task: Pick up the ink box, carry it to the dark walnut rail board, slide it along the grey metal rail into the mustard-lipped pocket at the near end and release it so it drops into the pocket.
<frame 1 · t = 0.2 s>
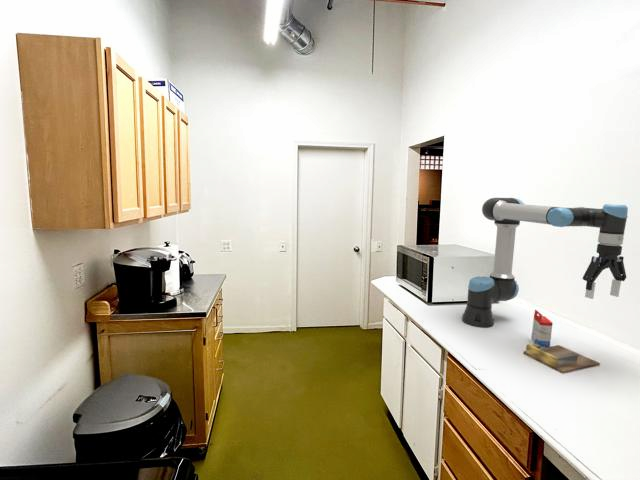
hand: (601, 296, 141), 27 cm above the countertop, fingers open, 13 cm apart
rail board: (560, 359, 146), on the countertop
ink box: (540, 343, 161), on the countertop
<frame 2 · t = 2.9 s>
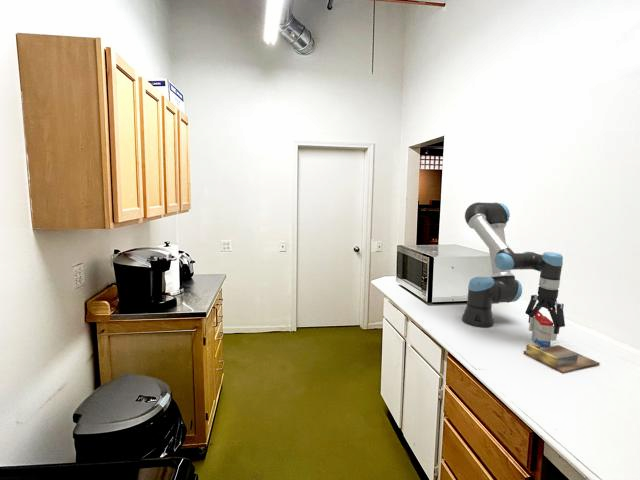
hand: (542, 335, 160), 4 cm above the countertop, fingers open, 10 cm apart
ink box: (540, 343, 161), on the countertop, touching gripper
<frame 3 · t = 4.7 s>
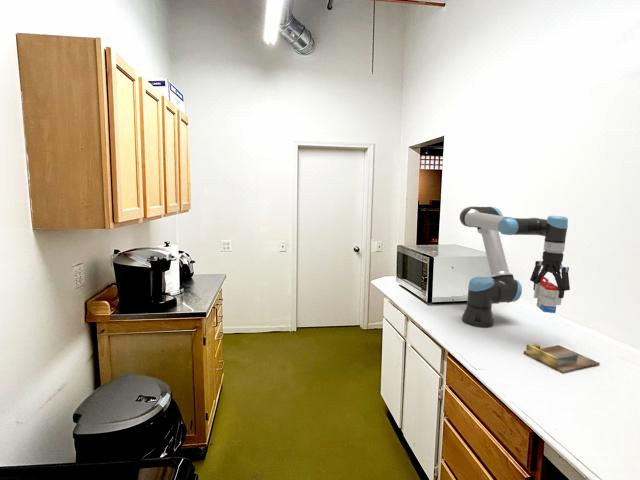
hand: (546, 301, 157), 20 cm above the countertop, fingers closed on ink box, 9 cm apart
ink box: (545, 310, 158), point 16 cm above the countertop, touching gripper
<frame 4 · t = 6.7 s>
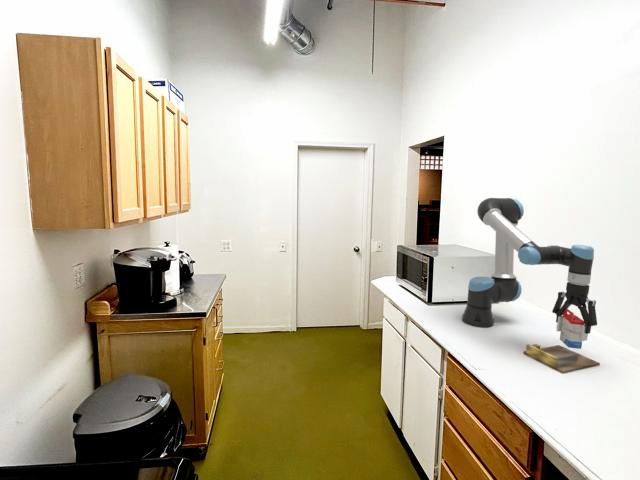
hand: (571, 335, 147), 9 cm above the countertop, fingers closed on ink box, 9 cm apart
ink box: (569, 344, 148), point 5 cm above the countertop, touching gripper
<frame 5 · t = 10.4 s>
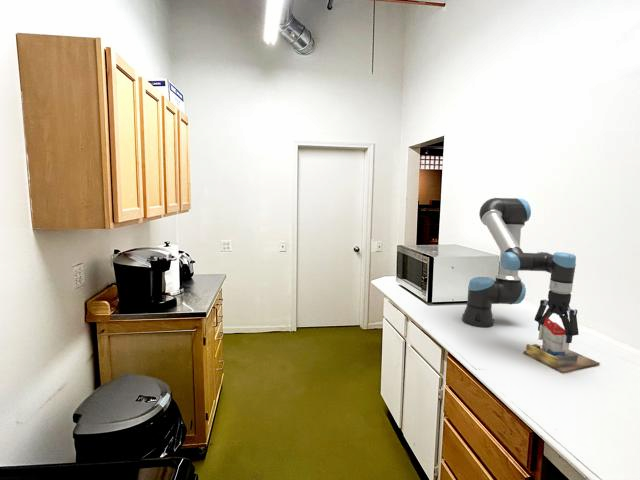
hand: (552, 344, 145), 7 cm above the countertop, fingers closed on ink box, 9 cm apart
ink box: (552, 353, 146), point 2 cm above the countertop, touching gripper, rail board
when the fingers open (7 cm above the countertop, at t = 10.6 s): ink box drops 2 cm, resting on rail board.
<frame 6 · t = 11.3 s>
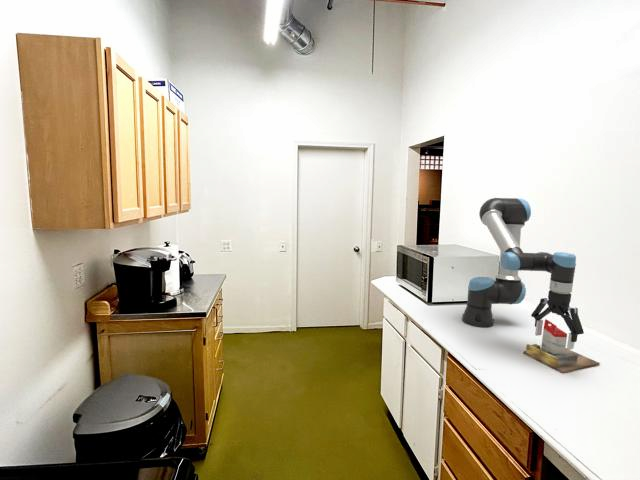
hand: (553, 341, 144), 8 cm above the countertop, fingers open, 13 cm apart
ink box: (551, 356, 146), point 1 cm above the countertop, touching rail board
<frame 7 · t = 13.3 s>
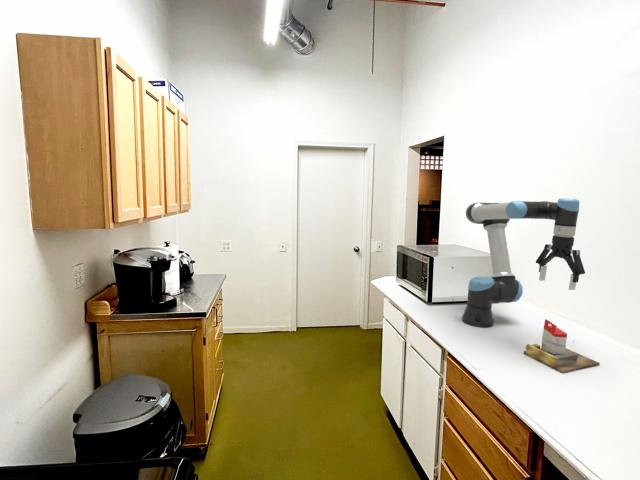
hand: (556, 284, 151), 29 cm above the countertop, fingers open, 13 cm apart
nothing on the countertop moved.
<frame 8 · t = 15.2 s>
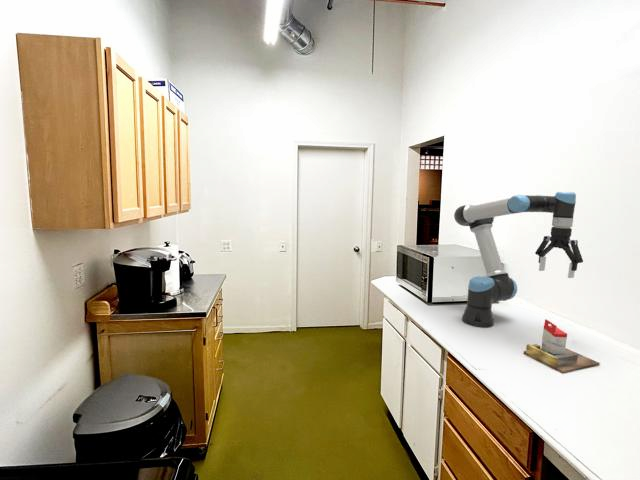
hand: (555, 274, 159), 32 cm above the countertop, fingers open, 13 cm apart
nothing on the countertop moved.
at the end: ink box inside the target area (1.0 cm from its centre), point 0.8 cm above the countertop; ink box tilted 0°; the gripper is holding nothing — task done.
